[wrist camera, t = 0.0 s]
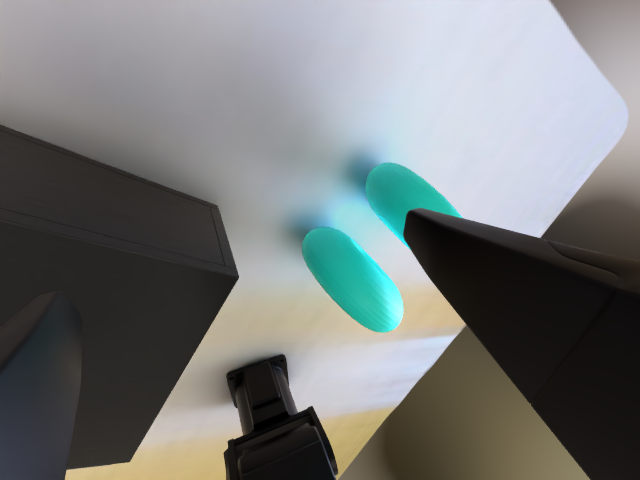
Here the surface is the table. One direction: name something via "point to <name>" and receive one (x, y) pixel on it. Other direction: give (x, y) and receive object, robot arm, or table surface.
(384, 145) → the table surface
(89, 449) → the black drawer cabinet
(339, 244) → the donuts
